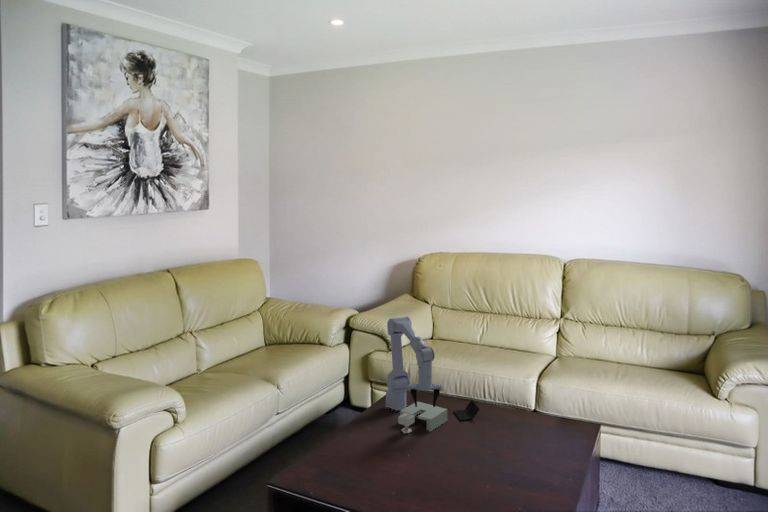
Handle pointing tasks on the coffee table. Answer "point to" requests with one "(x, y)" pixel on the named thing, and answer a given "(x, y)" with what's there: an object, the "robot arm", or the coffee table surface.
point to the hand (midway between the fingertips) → (425, 406)
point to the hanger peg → (406, 422)
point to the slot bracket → (427, 414)
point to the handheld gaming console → (467, 412)
